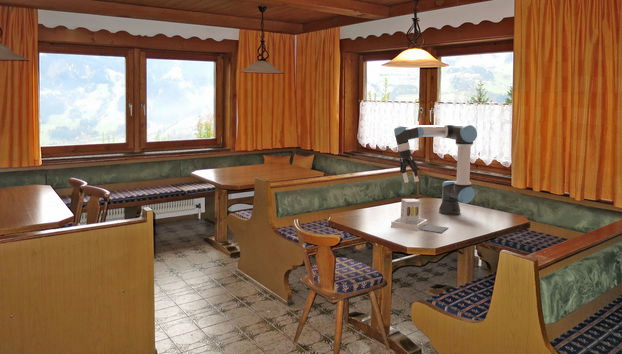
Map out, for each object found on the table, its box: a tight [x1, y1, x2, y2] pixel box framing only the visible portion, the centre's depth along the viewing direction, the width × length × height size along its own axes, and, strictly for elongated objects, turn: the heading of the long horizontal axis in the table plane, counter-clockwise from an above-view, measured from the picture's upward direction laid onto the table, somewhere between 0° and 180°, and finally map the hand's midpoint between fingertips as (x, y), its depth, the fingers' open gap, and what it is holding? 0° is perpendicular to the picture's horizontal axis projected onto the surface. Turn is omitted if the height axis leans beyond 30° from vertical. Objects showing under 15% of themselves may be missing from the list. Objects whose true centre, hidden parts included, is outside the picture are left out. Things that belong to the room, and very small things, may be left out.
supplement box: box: [399, 198, 421, 225], centre depth 347 cm, size 10×9×17 cm
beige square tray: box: [390, 216, 428, 231], centre depth 349 cm, size 19×18×3 cm
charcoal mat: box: [419, 223, 449, 234], centre depth 339 cm, size 14×14×1 cm
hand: (411, 182), depth 347 cm, fingers open, 13 cm apart
